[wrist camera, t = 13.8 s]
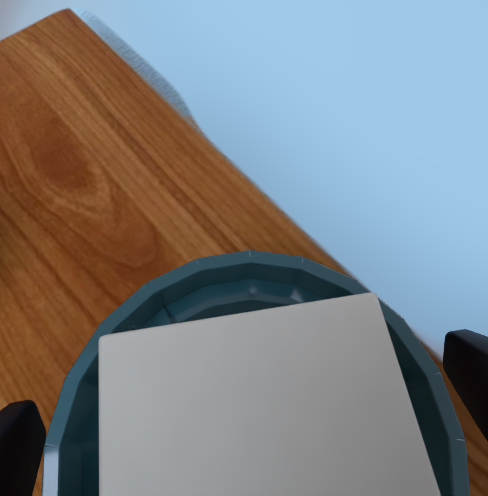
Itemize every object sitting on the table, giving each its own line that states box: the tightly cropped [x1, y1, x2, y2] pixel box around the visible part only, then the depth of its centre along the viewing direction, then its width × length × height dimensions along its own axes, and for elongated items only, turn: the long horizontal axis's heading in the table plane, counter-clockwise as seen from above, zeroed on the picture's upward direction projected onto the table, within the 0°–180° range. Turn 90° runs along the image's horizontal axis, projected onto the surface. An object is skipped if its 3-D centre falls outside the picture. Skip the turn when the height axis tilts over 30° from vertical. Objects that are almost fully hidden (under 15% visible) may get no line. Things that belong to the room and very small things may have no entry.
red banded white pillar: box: [99, 293, 441, 496], centre depth 11 cm, size 5×5×12 cm
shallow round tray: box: [42, 250, 470, 496], centre depth 15 cm, size 14×14×4 cm
